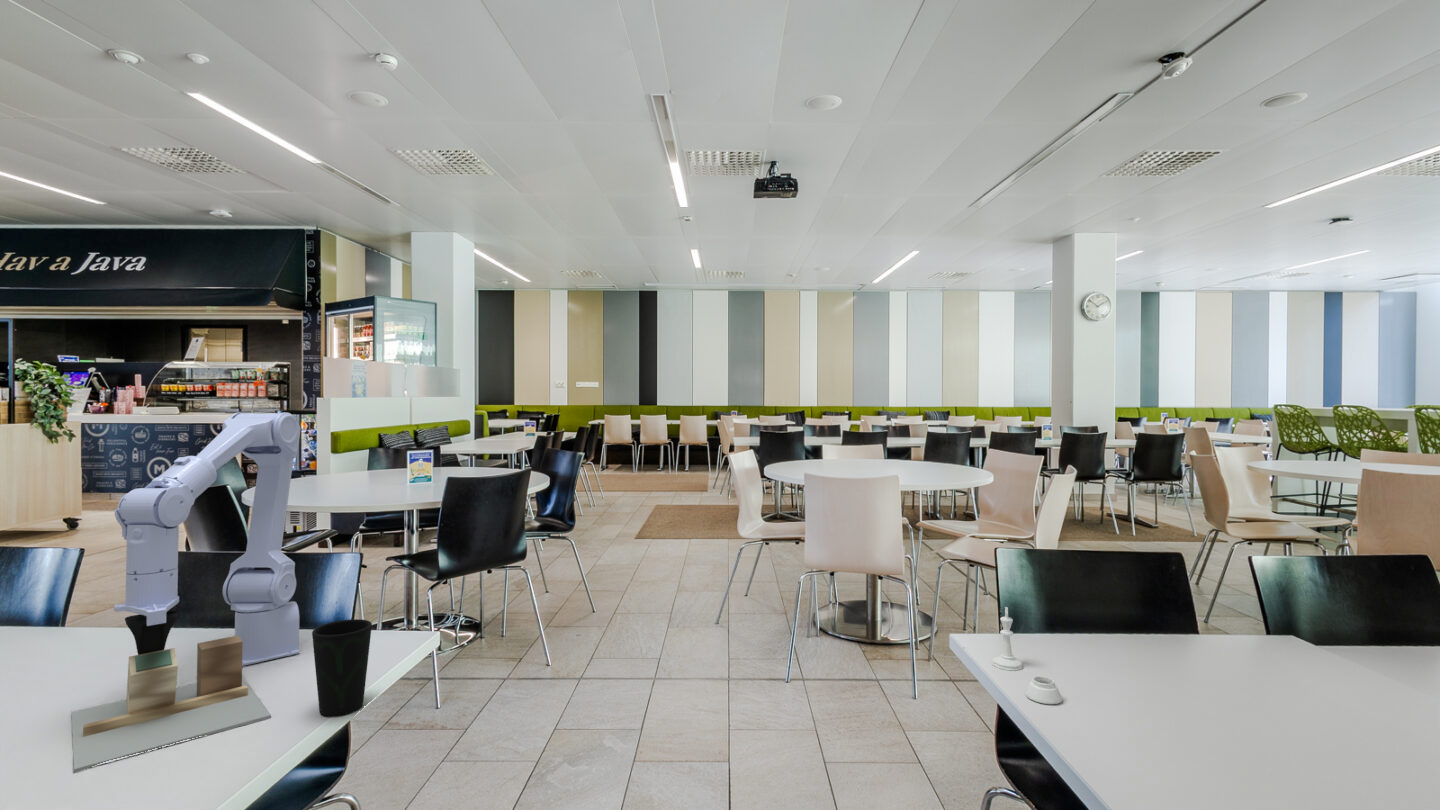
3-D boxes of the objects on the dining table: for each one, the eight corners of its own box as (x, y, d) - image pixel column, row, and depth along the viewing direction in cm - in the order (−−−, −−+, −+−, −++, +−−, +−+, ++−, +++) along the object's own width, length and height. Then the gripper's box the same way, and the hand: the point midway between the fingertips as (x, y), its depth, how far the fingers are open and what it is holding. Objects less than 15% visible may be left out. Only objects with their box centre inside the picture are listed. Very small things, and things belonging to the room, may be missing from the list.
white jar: (1018, 693, 101) (1039, 707, 96) (1018, 674, 101) (1039, 687, 96) (1047, 691, 102) (1069, 705, 97) (1047, 672, 102) (1069, 685, 97)
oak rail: (246, 693, 100) (246, 685, 100) (247, 695, 99) (247, 687, 99) (83, 733, 87) (83, 724, 87) (83, 736, 86) (83, 727, 86)
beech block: (171, 690, 97) (175, 646, 94) (174, 709, 94) (178, 664, 92) (126, 701, 93) (128, 655, 91) (127, 721, 91) (130, 674, 88)
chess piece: (991, 668, 111) (991, 609, 111) (991, 658, 115) (990, 602, 116) (1023, 672, 109) (1022, 613, 109) (1021, 662, 113) (1021, 605, 114)
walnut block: (236, 685, 102) (237, 635, 103) (241, 693, 100) (242, 641, 100) (196, 695, 99) (197, 643, 99) (200, 703, 96) (201, 649, 96)
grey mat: (240, 675, 108) (240, 672, 108) (270, 717, 92) (270, 714, 92) (71, 714, 93) (71, 711, 93) (73, 772, 78) (73, 769, 78)
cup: (382, 701, 98) (383, 622, 98) (338, 724, 91) (339, 638, 91) (344, 694, 100) (345, 617, 101) (298, 715, 93) (299, 632, 93)
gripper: (112, 566, 96) (110, 658, 96) (118, 583, 86) (115, 686, 86) (173, 559, 101) (172, 646, 101) (186, 574, 91) (184, 671, 91)
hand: (150, 663), depth 94 cm, fingers closed
